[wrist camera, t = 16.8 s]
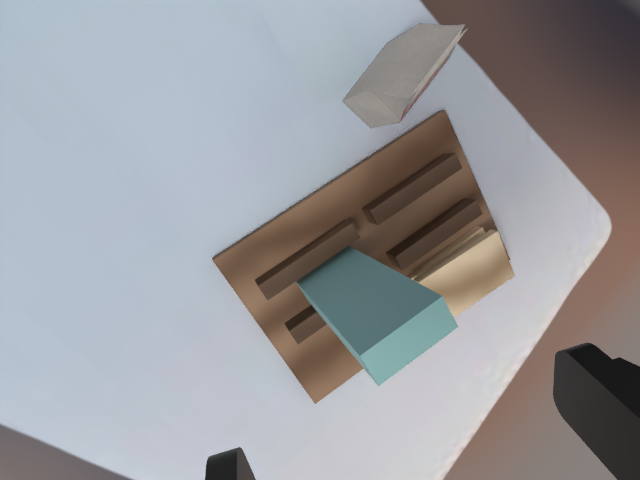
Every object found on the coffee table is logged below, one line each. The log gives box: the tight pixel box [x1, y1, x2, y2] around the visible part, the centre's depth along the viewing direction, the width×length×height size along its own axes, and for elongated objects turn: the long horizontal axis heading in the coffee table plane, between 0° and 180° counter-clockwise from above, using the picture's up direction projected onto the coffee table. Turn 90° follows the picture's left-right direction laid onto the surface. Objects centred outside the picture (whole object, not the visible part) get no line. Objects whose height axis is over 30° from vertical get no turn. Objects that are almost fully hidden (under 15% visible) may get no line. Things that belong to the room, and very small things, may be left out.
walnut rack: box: [212, 110, 510, 404], centre depth 40 cm, size 18×26×3 cm
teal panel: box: [296, 246, 458, 386], centre depth 32 cm, size 2×6×16 cm, turn 120°
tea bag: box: [342, 23, 468, 128], centre depth 34 cm, size 4×7×10 cm, turn 141°
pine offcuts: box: [406, 226, 515, 317], centre depth 42 cm, size 6×10×3 cm, turn 121°
